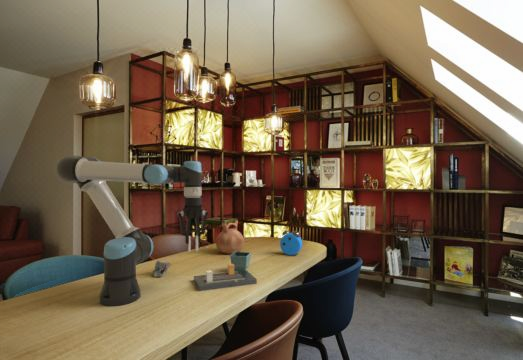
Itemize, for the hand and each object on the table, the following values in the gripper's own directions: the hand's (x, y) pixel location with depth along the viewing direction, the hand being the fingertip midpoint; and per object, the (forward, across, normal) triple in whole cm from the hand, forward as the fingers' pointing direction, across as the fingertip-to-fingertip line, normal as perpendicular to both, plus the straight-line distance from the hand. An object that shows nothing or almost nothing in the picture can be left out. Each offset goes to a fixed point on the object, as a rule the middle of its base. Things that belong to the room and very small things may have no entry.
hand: (193, 250), depth 139 cm
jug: (+17, +33, +59) cm, 70 cm away
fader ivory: (+14, +7, 0) cm, 16 cm away
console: (+17, +15, +4) cm, 23 cm away
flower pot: (+17, +27, +17) cm, 36 cm away
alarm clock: (+17, +67, +39) cm, 79 cm away
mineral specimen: (+17, -11, +26) cm, 33 cm away
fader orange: (+14, +19, +7) cm, 25 cm away
